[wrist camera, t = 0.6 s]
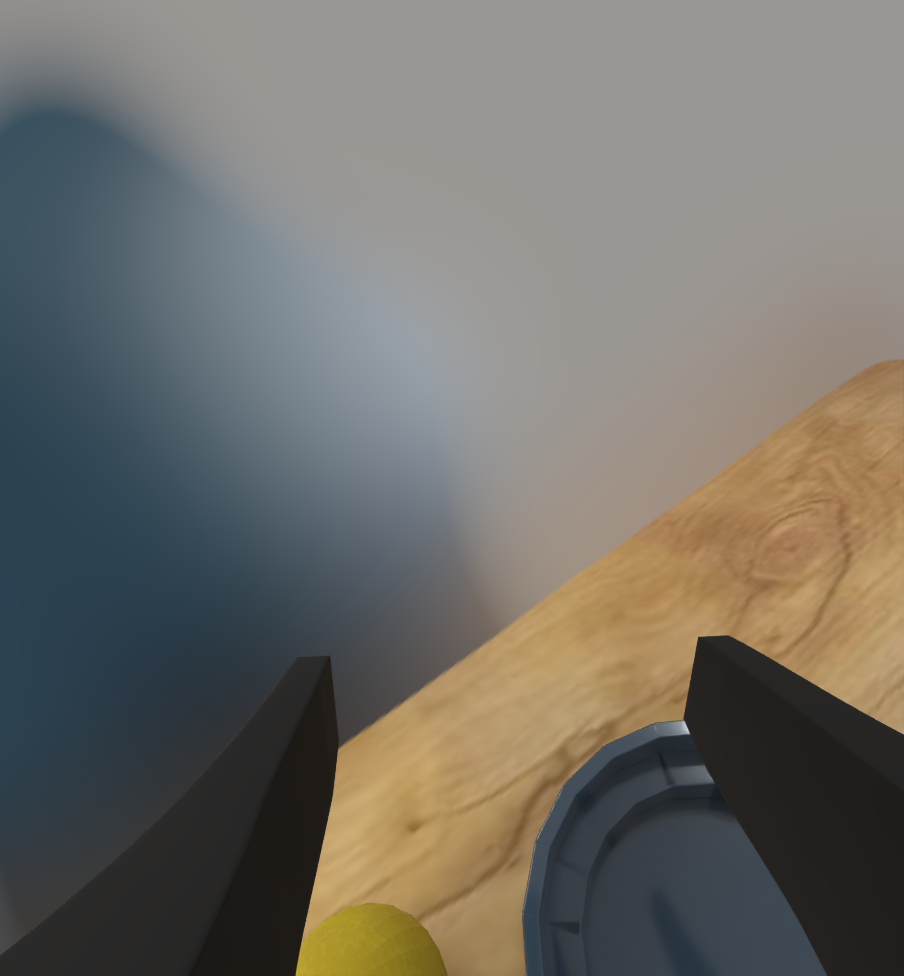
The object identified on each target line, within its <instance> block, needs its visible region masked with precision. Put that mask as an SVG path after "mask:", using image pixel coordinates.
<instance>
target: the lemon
mask: <svg viewBox="0 0 904 976" xmlns="http://www.w3.org/2000/svg"><path fill="white" fill-rule="evenodd" d="M296 976H447V972H446V969H445V966H444V963H443V960H442V957H441V954H440V952H439V949H438V948H437V946H436V944H435V943H434V941H433V939H432V938H431V936H430V935H429V933H428V931H427V930H426V929H425V928H424V927H423V926H422V925H421V924H420V923H419V922H418V921H417V920H416V919H415V918H414V917H412V916H411V915H410V914H408V913H406V912H404V911H402V910H400V909H398V908H396V907H394V906H391V905H384V904H376V903H366V904H362V905H357V906H353V907H349V908H346V909H344V910H342V911H340V912H338V913H337V914H335V915H333V916H331V917H329V918H328V919H326V920H325V921H324V922H322V923H321V924H320V925H319V926H318V927H317V928H316V929H315V930H314V931H313V932H312V933H311V934H310V935H309V936H308V937H307V938H306V940H305V941H304V943H303V944H302V946H301V947H300V953H299V958H298V964H297V970H296Z"/></svg>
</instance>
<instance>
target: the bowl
mask: <svg viewBox="0 0 904 976" xmlns="http://www.w3.org/2000/svg"><path fill="white" fill-rule="evenodd" d="M522 913H523V915H522V923H523V937H524V951H525V965H526V976H827V975H826V973H825V971H824V969H823V967H822V965H821V963H820V961H819V959H818V957H817V955H816V953H815V951H814V949H813V947H812V945H811V943H810V942H809V940H808V938H807V936H806V934H805V932H804V930H803V928H802V926H801V924H800V922H799V921H798V919H797V917H796V916H795V914H794V912H793V910H792V909H791V907H790V905H789V903H788V902H787V900H786V898H785V896H784V895H783V893H782V891H781V890H780V888H779V887H778V885H777V883H776V882H775V880H774V879H773V877H772V875H771V874H770V872H769V870H768V869H767V867H766V866H765V864H764V862H763V861H762V859H761V858H760V856H759V854H758V853H757V851H756V850H755V848H754V846H753V845H752V843H751V841H750V840H749V838H748V837H747V835H746V833H745V832H744V830H743V829H742V827H741V825H740V824H739V822H738V821H737V819H736V817H735V816H734V814H733V812H732V811H731V809H730V808H729V806H728V804H727V803H726V801H725V799H724V798H723V796H722V794H721V793H720V791H719V790H718V788H717V786H716V785H715V783H714V781H713V780H712V778H711V776H710V774H709V773H708V771H707V769H706V767H705V765H704V763H703V761H702V759H701V757H700V755H699V753H698V751H697V748H696V746H695V744H694V742H693V740H692V737H691V735H690V733H689V731H688V728H687V726H686V724H685V721H684V720H682V721H670V722H658V723H654V724H651V725H649V726H646V727H644V728H642V729H640V730H637V731H635V732H633V733H631V734H628V735H626V736H624V737H622V738H619V739H617V740H615V741H613V742H610V743H608V744H606V745H605V746H603V747H602V748H601V749H600V750H599V751H598V752H596V753H595V754H594V755H593V756H592V757H591V758H590V759H589V760H588V761H587V762H586V763H585V764H584V765H583V766H582V767H581V768H580V769H579V770H578V771H577V772H576V773H575V774H574V775H573V776H572V777H571V778H570V779H569V780H568V781H567V782H566V783H565V784H564V786H563V787H562V789H561V790H560V792H559V794H558V796H557V798H556V800H555V802H554V804H553V806H552V808H551V810H550V812H549V814H548V816H547V818H546V820H545V822H544V824H543V826H542V828H541V830H540V832H539V834H538V836H537V838H536V842H535V844H534V850H533V855H532V861H531V866H530V872H529V877H528V883H527V888H526V894H525V900H524V905H523V911H522Z"/></svg>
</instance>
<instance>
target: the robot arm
mask: <svg viewBox="0 0 904 976" xmlns="http://www.w3.org/2000/svg"><path fill="white" fill-rule="evenodd" d="M334 700H335V699H334V689H333V680H332V671H331V660H330V656H316V657H298V658H296V659H295V660H294V661H293V662H292V663H291V665H290V666H289V668H288V669H287V670H286V672H285V673H284V674H283V676H282V677H281V678H280V680H279V681H278V682H277V684H276V685H275V686H274V688H273V689H272V690H271V692H270V693H269V694H268V695H267V697H266V698H265V699H264V700H263V702H262V703H261V704H260V706H259V707H258V708H257V709H256V711H255V712H254V713H253V714H252V716H251V717H250V718H249V719H248V720H247V722H246V723H245V724H244V725H243V726H242V728H241V729H240V730H239V731H238V733H237V734H236V735H235V736H234V737H233V739H232V740H231V741H230V742H229V743H228V745H227V746H226V747H225V748H224V749H223V751H222V752H221V753H220V754H219V755H218V756H217V757H216V758H215V759H214V760H213V761H212V763H211V764H210V765H209V766H208V767H207V768H206V769H205V770H204V771H203V773H202V774H201V775H200V776H199V777H198V778H197V779H196V780H195V781H194V782H193V784H192V785H191V786H190V787H189V788H188V789H187V790H186V791H185V792H184V793H183V794H182V795H181V796H180V797H179V798H178V799H177V800H176V802H175V803H174V804H173V805H172V806H171V807H170V808H169V809H168V810H167V811H166V812H165V813H164V814H163V815H162V816H161V817H160V818H159V819H158V820H157V821H156V822H155V823H154V824H152V825H151V826H150V827H149V828H148V829H147V830H146V831H145V832H144V833H143V834H142V835H141V836H140V837H139V838H138V839H137V840H136V841H135V842H134V843H133V844H132V845H131V846H129V847H128V848H127V849H126V850H125V851H124V852H123V853H122V854H121V855H120V856H119V857H117V858H116V859H115V860H114V861H113V862H112V863H111V864H109V865H108V866H107V867H106V868H105V869H104V870H103V871H102V872H100V873H99V874H98V875H97V876H96V877H95V878H94V879H92V880H91V881H90V882H89V883H88V884H86V885H85V886H84V887H83V888H82V889H81V890H80V891H78V892H77V893H76V894H75V895H74V896H73V897H71V898H70V899H69V900H68V901H67V902H66V903H65V904H63V905H62V906H61V907H60V908H59V909H57V910H56V911H55V912H54V913H53V914H51V915H50V916H49V917H48V918H47V919H45V920H44V921H43V922H42V923H40V924H39V925H38V926H37V927H36V928H34V929H33V930H32V931H30V932H29V933H28V934H27V935H25V936H24V937H23V938H22V939H20V940H19V941H18V942H17V943H15V944H14V945H13V946H11V947H10V948H9V949H8V950H6V951H5V952H4V953H3V954H1V955H0V976H296V970H297V964H298V958H299V953H300V947H301V942H302V936H303V932H304V927H305V922H306V918H307V913H308V909H309V904H310V899H311V895H312V890H313V886H314V881H315V876H316V872H317V867H318V863H319V858H320V853H321V849H322V844H323V840H324V835H325V830H326V826H327V821H328V816H329V811H330V807H331V802H332V797H333V789H334V781H335V772H336V762H337V753H338V742H339V739H338V729H337V720H336V719H337V718H336V709H335V701H334ZM684 721H685V724H686V726H687V728H688V731H689V733H690V735H691V737H692V740H693V742H694V744H695V746H696V748H697V751H698V753H699V755H700V757H701V759H702V761H703V763H704V765H705V767H706V769H707V771H708V773H709V774H710V776H711V778H712V780H713V781H714V783H715V785H716V786H717V788H718V790H719V791H720V793H721V794H722V796H723V798H724V799H725V801H726V803H727V804H728V806H729V808H730V809H731V811H732V812H733V814H734V816H735V817H736V819H737V821H738V822H739V824H740V825H741V827H742V829H743V830H744V832H745V833H746V835H747V837H748V838H749V840H750V841H751V843H752V845H753V846H754V848H755V850H756V851H757V853H758V854H759V856H760V858H761V859H762V861H763V862H764V864H765V866H766V867H767V869H768V870H769V872H770V874H771V875H772V877H773V879H774V880H775V882H776V883H777V885H778V887H779V888H780V890H781V891H782V893H783V895H784V896H785V898H786V900H787V902H788V903H789V905H790V907H791V909H792V910H793V912H794V914H795V916H796V917H797V919H798V921H799V922H800V924H801V926H802V928H803V930H804V932H805V934H806V936H807V938H808V940H809V942H810V943H811V945H812V947H813V949H814V951H815V953H816V955H817V957H818V959H819V961H820V963H821V965H822V967H823V969H824V971H825V973H826V975H827V976H904V735H903V734H902V733H900V732H898V731H896V730H894V729H892V728H890V727H888V726H887V725H885V724H883V723H881V722H879V721H877V720H875V719H874V718H872V717H870V716H868V715H867V714H865V713H863V712H861V711H859V710H858V709H856V708H854V707H852V706H851V705H849V704H847V703H845V702H844V701H842V700H840V699H838V698H837V697H835V696H833V695H831V694H830V693H828V692H826V691H825V690H823V689H821V688H819V687H818V686H816V685H814V684H813V683H811V682H809V681H807V680H806V679H804V678H802V677H801V676H799V675H797V674H796V673H794V672H792V671H791V670H789V669H787V668H785V667H784V666H782V665H780V664H779V663H777V662H775V661H774V660H772V659H770V658H768V657H767V656H765V655H763V654H762V653H760V652H758V651H756V650H755V649H753V648H751V647H749V646H747V645H746V644H744V643H742V642H740V641H738V640H736V639H734V638H732V637H730V636H728V635H727V636H707V637H698V641H697V647H696V652H695V658H694V663H693V669H692V675H691V680H690V686H689V691H688V697H687V702H686V708H685V713H684Z"/></svg>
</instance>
